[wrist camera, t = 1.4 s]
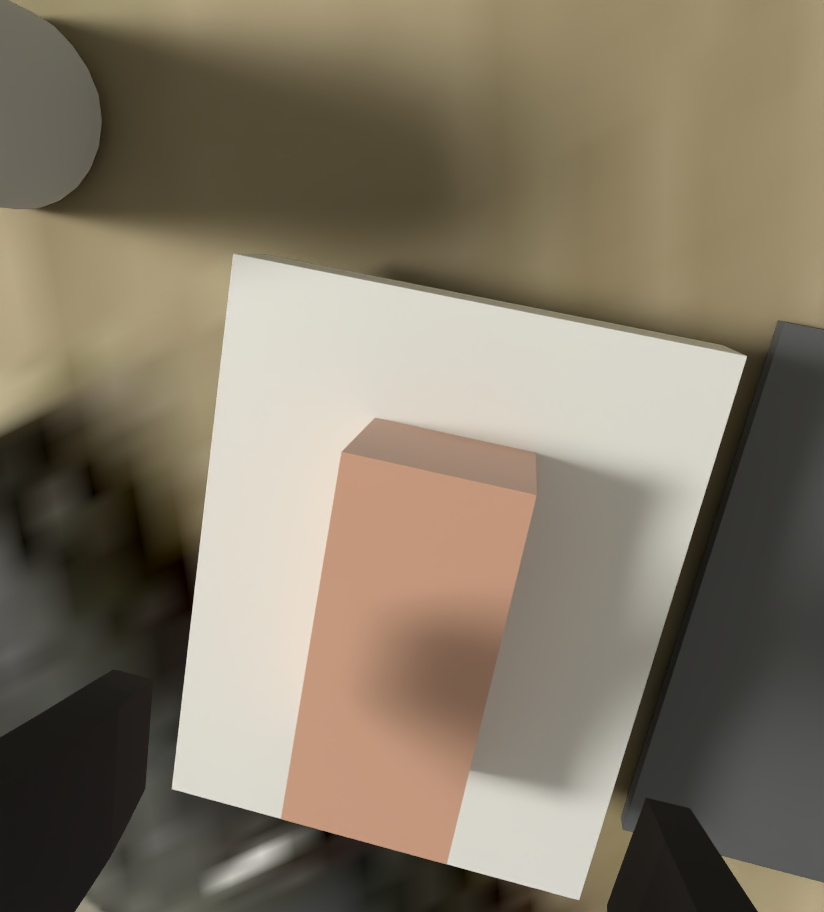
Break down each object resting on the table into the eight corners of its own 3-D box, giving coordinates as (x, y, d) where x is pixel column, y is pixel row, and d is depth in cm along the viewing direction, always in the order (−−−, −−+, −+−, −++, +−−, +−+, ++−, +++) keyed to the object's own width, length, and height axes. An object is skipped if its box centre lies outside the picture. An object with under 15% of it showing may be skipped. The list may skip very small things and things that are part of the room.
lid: (574, 840, 20) (587, 1017, 16) (203, 742, 21) (110, 880, 17) (722, 345, 17) (799, 380, 12) (265, 254, 18) (167, 252, 13)
